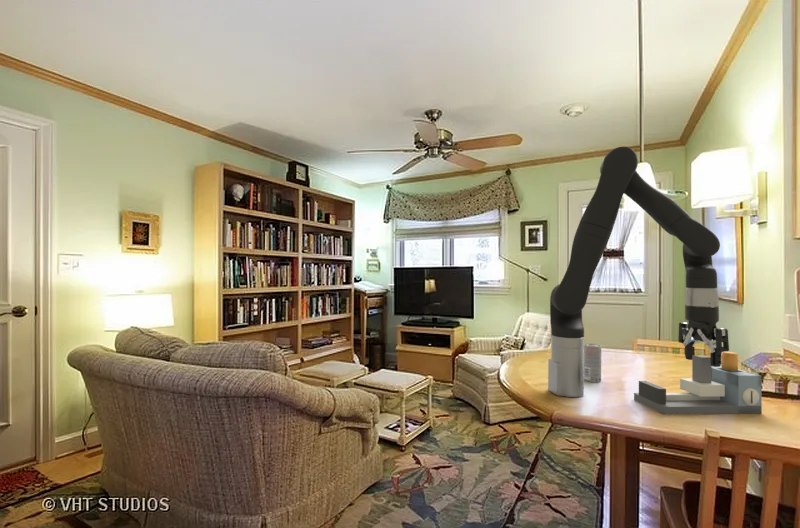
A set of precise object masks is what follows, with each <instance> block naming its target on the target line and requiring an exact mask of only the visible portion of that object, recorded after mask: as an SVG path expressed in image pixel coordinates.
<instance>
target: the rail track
mask: <svg viewBox="0 0 800 528" xmlns="http://www.w3.org/2000/svg"><path fill="white" fill-rule="evenodd" d="M711 381H713V382H716V383H720V384H723V385H725V396H709V397H700V396H697V395H695V394H692V393H689V392H667V388H665V387H662V386H659V385H657V384H655V383H653V382H649V381H647V380H638V392H633V400H634V401H635V402H638V403H639V404H642V405H644V406H646V407H647V408H650V409H652V410H654V411H656V412H658V413H661V414H662V415H664V416H665V415H667V416H668V415H672V414H673V415H746V414H748V415H752V414H754V415H755V414H757V415H759V414H761V415H762V413H763V412H762V405H763V404H762V394H763V393H762V392H763V391H762V387H763V386H762V375H761V374H758V373H754V372H750V371H747V370H742V369H739V368H738V370H736V371H735V370H726V369H722V368H721V365H720V367H713V366H711Z"/></svg>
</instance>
